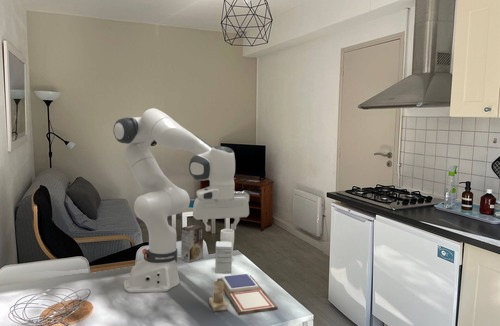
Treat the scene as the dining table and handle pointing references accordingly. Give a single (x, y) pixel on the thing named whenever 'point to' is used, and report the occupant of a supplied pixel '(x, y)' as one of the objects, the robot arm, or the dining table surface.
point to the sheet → (251, 300)
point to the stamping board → (247, 291)
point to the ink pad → (239, 282)
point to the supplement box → (223, 257)
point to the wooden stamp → (218, 298)
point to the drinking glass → (227, 236)
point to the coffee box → (192, 243)
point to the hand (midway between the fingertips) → (220, 230)
